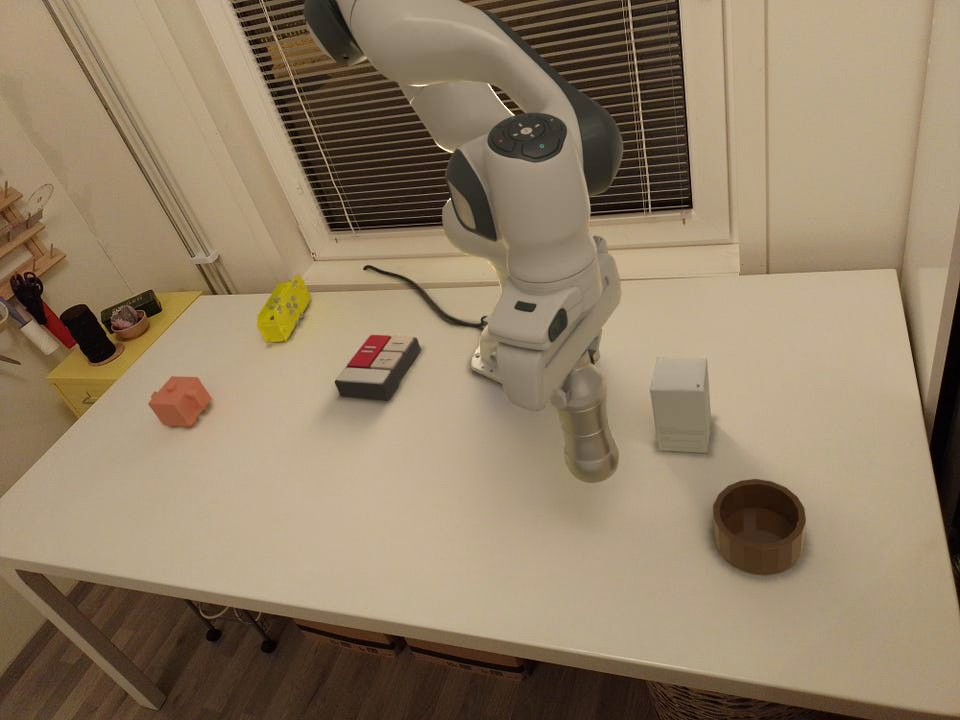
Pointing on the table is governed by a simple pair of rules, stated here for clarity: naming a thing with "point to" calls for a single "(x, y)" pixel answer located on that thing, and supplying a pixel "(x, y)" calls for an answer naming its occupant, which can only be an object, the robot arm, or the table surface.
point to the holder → (759, 526)
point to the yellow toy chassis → (283, 310)
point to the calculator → (378, 367)
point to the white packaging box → (681, 404)
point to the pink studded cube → (180, 401)
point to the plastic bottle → (587, 425)
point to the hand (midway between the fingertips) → (576, 382)
